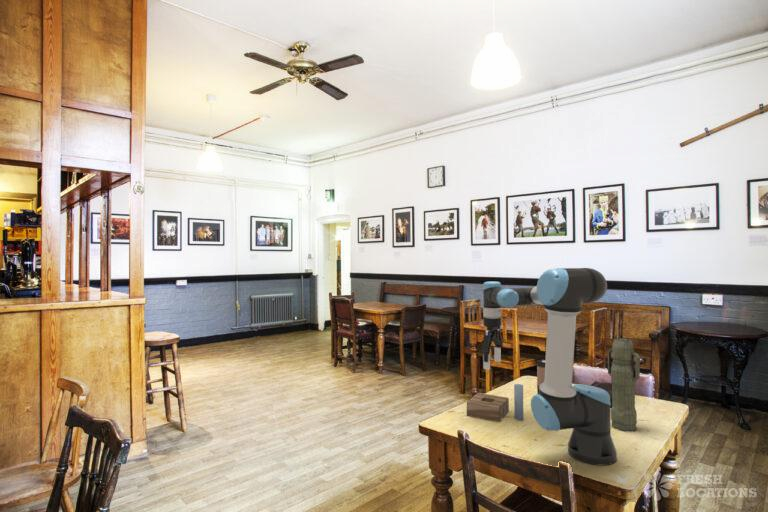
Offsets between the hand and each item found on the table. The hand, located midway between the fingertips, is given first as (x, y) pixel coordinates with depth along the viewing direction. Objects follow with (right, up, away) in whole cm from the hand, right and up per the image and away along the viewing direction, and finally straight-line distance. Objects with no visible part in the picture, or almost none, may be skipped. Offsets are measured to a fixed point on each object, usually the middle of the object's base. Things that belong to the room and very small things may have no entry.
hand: (492, 365), depth 188 cm
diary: (+58, -21, +16) cm, 64 cm away
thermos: (+48, -20, -17) cm, 55 cm away
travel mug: (+27, -20, +10) cm, 36 cm away
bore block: (-2, -21, -1) cm, 21 cm away
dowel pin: (+9, -21, -7) cm, 24 cm away
